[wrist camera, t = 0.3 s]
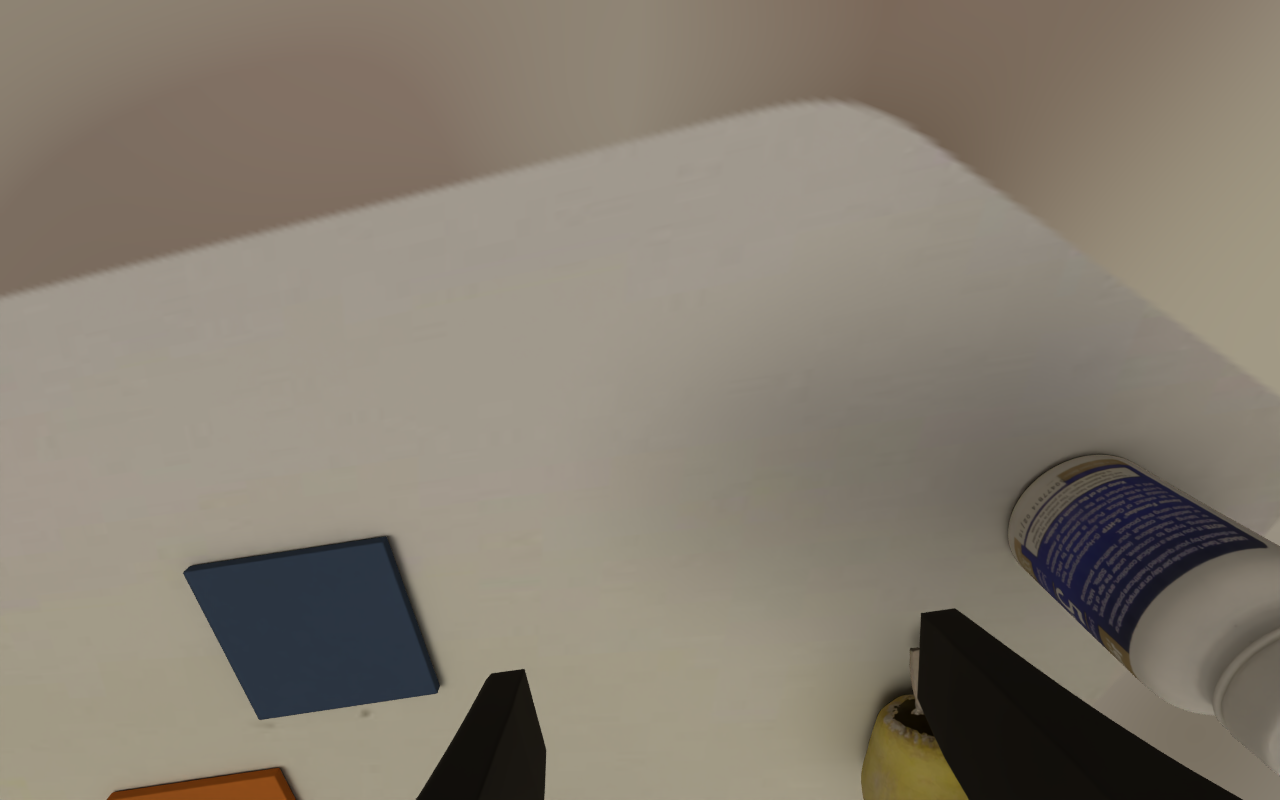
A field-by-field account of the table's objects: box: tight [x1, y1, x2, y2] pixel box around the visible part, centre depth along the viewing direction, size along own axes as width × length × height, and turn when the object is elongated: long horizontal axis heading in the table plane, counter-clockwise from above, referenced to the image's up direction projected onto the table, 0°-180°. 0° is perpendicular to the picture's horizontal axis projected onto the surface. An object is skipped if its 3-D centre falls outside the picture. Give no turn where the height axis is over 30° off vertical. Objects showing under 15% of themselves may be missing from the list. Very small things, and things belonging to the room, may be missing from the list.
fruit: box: [861, 647, 969, 800], centre depth 23 cm, size 6×6×10 cm
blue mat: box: [183, 536, 440, 720], centre depth 22 cm, size 7×7×1 cm
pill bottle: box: [1008, 455, 1280, 776], centre depth 18 cm, size 5×5×9 cm
